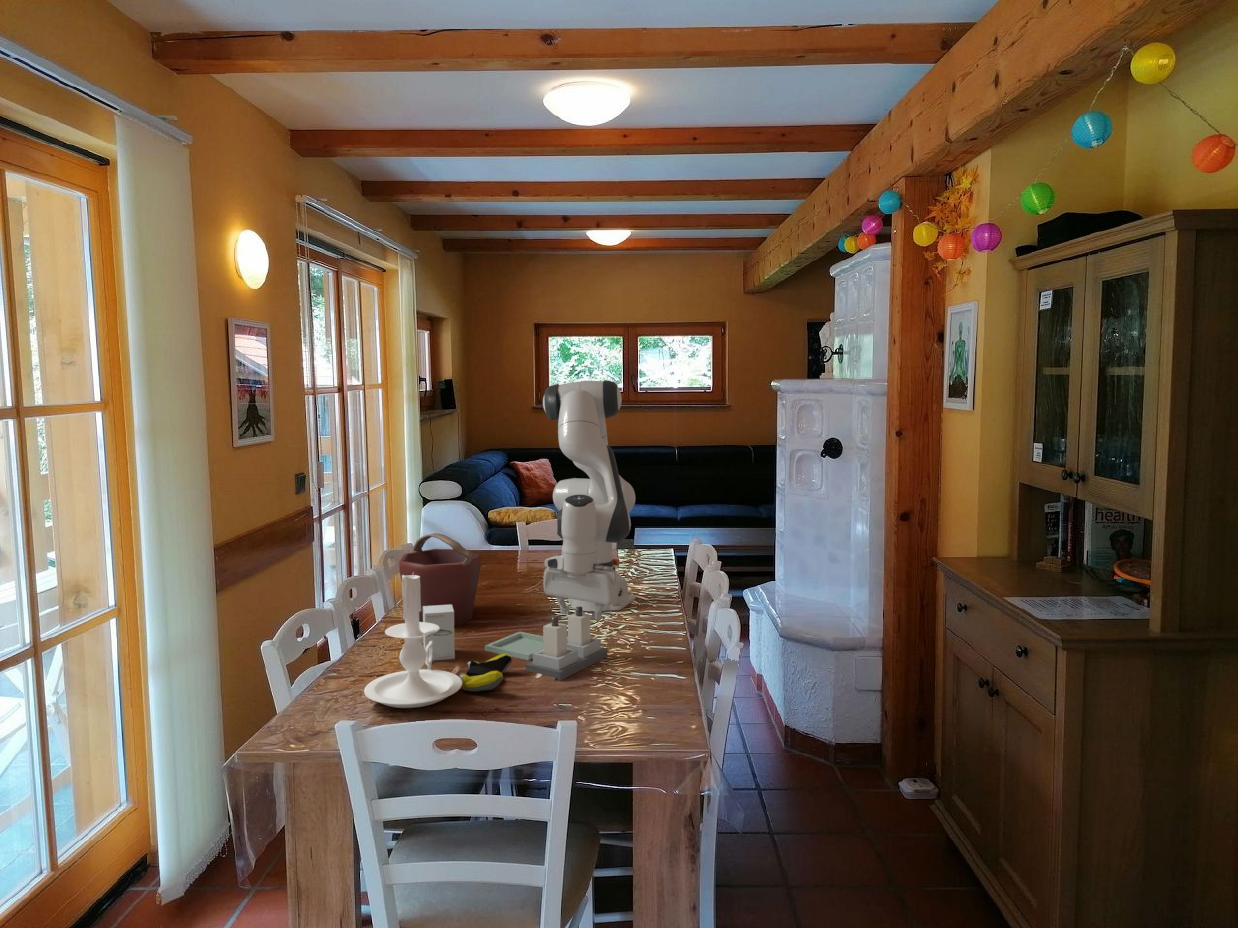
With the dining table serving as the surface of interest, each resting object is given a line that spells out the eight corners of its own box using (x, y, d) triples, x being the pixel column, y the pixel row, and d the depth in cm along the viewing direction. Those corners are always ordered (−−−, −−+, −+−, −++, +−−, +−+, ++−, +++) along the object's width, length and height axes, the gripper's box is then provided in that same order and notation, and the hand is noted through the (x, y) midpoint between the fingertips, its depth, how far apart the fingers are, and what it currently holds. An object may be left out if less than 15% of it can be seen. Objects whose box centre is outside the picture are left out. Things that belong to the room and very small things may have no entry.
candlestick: (476, 676, 195) (474, 558, 192) (449, 720, 171) (446, 585, 168) (389, 675, 196) (385, 557, 193) (349, 717, 172) (345, 584, 169)
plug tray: (519, 638, 224) (519, 631, 224) (562, 646, 217) (562, 640, 216) (484, 652, 212) (484, 645, 212) (528, 662, 205) (528, 655, 205)
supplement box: (424, 663, 204) (423, 613, 203) (423, 654, 211) (422, 605, 210) (455, 661, 206) (454, 611, 205) (453, 651, 213) (452, 603, 212)
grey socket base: (574, 649, 215) (574, 599, 213) (607, 656, 209) (607, 605, 208) (525, 672, 198) (525, 619, 196) (559, 680, 192) (559, 625, 191)
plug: (577, 647, 210) (577, 604, 209) (590, 649, 208) (590, 606, 207) (568, 651, 207) (567, 608, 206) (581, 654, 205) (581, 610, 204)
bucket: (491, 625, 236) (490, 537, 233) (415, 637, 224) (412, 546, 222) (460, 605, 257) (458, 524, 254) (388, 615, 245) (386, 531, 243)
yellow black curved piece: (513, 674, 197) (471, 673, 198) (513, 651, 197) (471, 650, 197) (501, 698, 182) (456, 697, 183) (501, 673, 182) (455, 673, 182)
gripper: (622, 564, 203) (622, 619, 204) (554, 554, 213) (555, 607, 215) (608, 569, 197) (609, 626, 199) (539, 559, 208) (540, 613, 210)
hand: (580, 616), depth 207 cm, fingers open, 8 cm apart
